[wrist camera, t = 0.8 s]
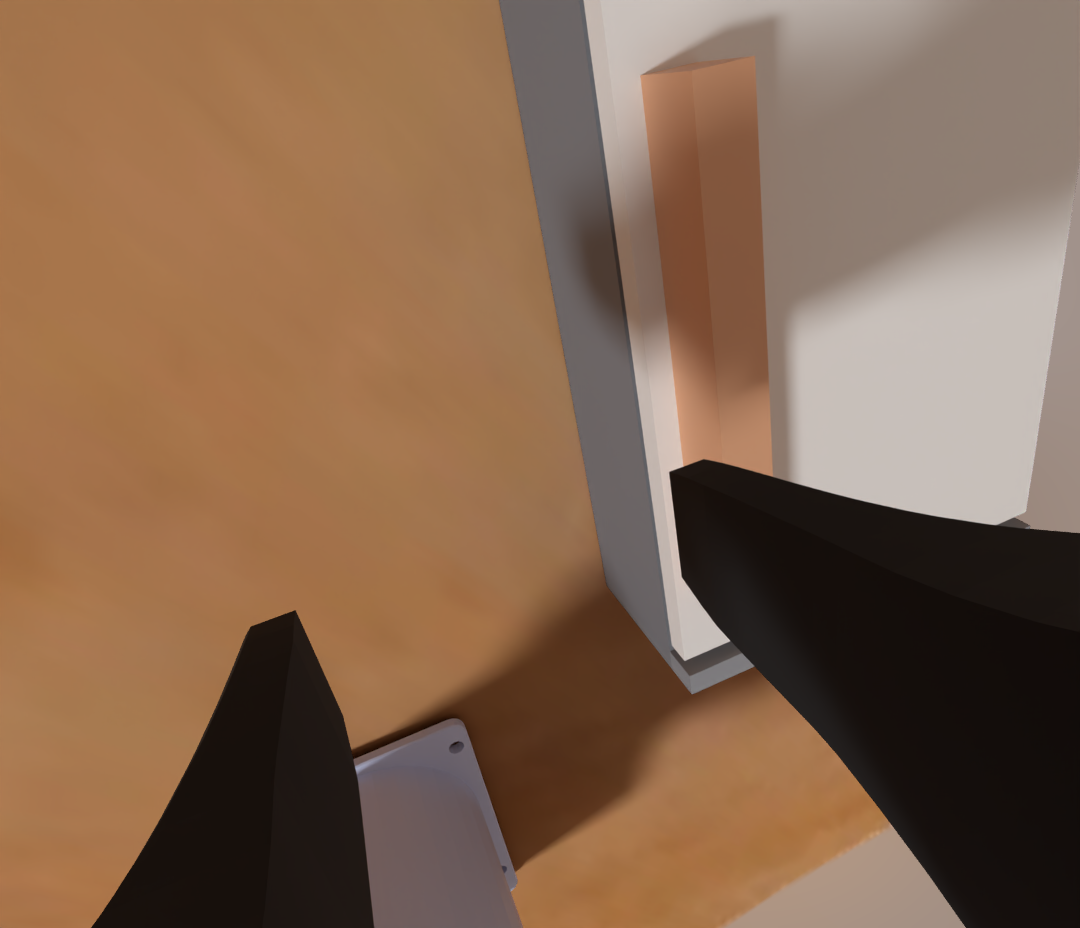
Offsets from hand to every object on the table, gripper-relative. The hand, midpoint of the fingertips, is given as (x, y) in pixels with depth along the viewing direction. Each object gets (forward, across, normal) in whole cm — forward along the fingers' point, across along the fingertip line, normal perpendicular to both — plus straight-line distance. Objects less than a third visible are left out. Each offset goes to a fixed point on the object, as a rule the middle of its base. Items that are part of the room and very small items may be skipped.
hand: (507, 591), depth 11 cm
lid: (+6, -11, 0) cm, 12 cm away
